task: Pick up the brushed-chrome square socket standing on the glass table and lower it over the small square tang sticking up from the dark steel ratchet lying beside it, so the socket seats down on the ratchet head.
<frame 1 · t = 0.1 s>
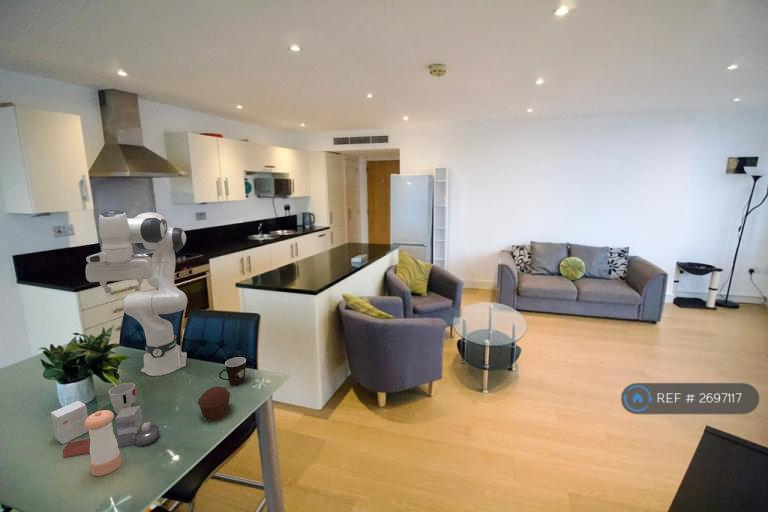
hand: (123, 291, 127), 48 cm above the table, fingers open, 8 cm apart
cup: (125, 412, 133), on the table
socket: (130, 428, 123), on the table
small box: (73, 435, 120), on the table
pepper shaker: (107, 467, 106), on the table
coffee mug: (233, 383, 153), on the table
muffin: (215, 413, 132), on the table
ratchet: (148, 439, 118), on the table
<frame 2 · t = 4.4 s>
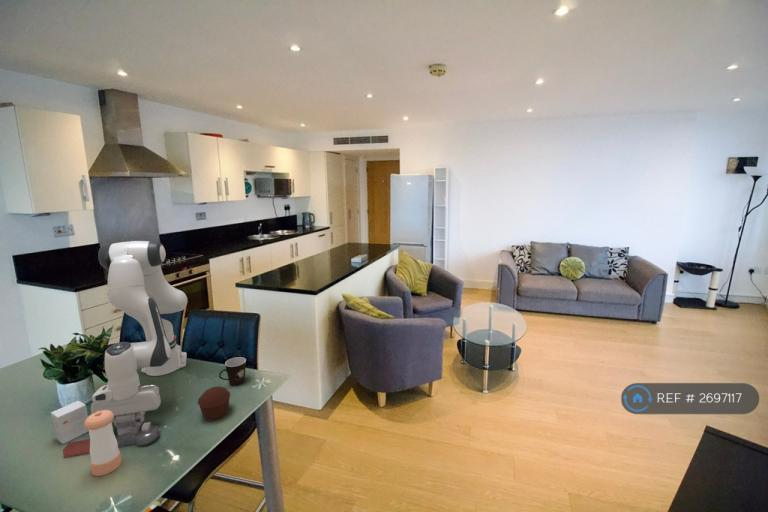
hand: (129, 423, 123), 2 cm above the table, fingers closed on socket, 6 cm apart
socket: (130, 428, 123), on the table, touching gripper
everything else where it was.
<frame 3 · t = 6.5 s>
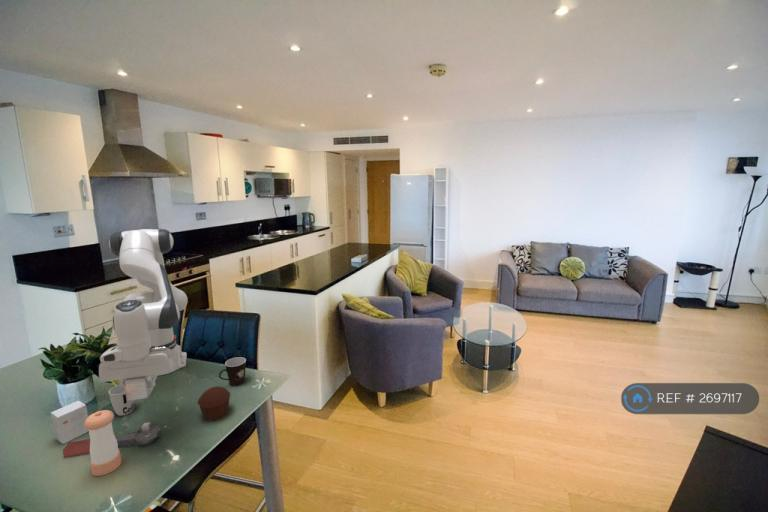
hand: (140, 388, 114), 20 cm above the table, fingers closed on socket, 6 cm apart
socket: (140, 394, 114), point 17 cm above the table, touching gripper
everything else where it was.
when the fingers open (6 cm above the table, at t = 9.0 s): socket stays where it is, resting on ratchet.
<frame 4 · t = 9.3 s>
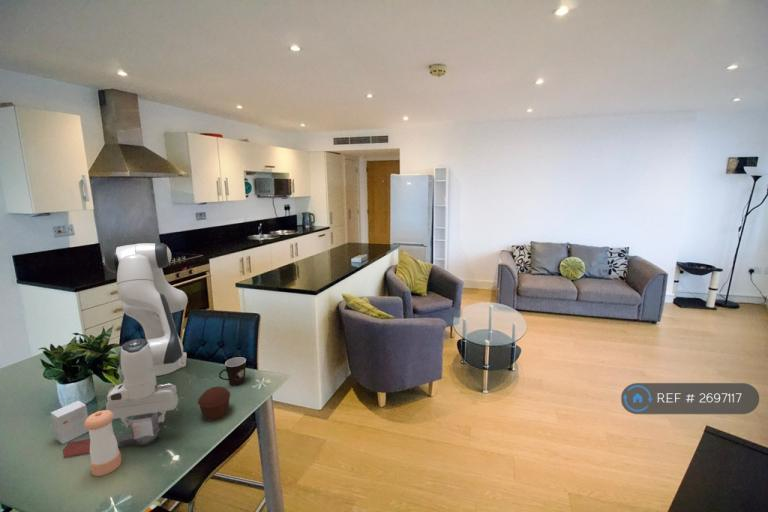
hand: (146, 423, 117), 6 cm above the table, fingers open, 8 cm apart
socket: (147, 432, 117), point 3 cm above the table, touching ratchet
ratchet: (148, 439, 118), on the table, touching socket
everything else where it was.
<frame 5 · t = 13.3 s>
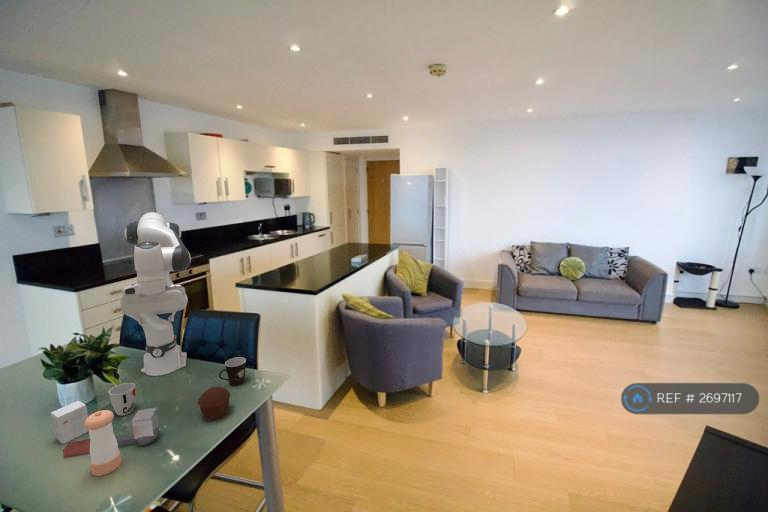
hand: (156, 322, 126), 37 cm above the table, fingers open, 8 cm apart
nothing on the table moved.
at the end: socket 0.0 cm off-centre on the ratchet, point 3.0 cm above the ratchet's base; socket tilted 0°; the gripper is holding nothing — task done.
